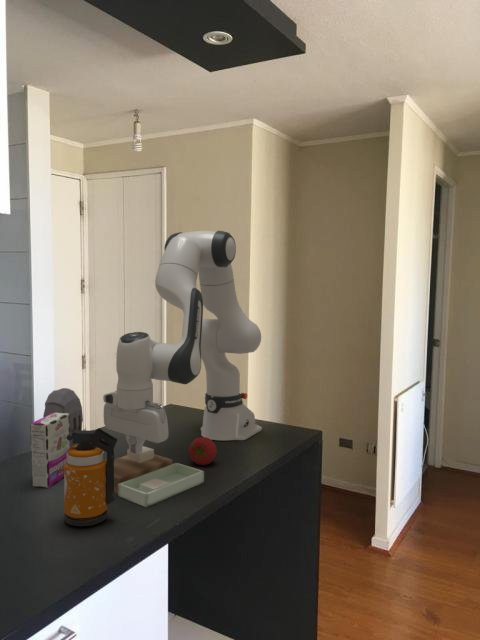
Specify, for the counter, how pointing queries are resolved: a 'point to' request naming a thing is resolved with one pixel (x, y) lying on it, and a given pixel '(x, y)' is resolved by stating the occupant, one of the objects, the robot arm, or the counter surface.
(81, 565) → the counter surface
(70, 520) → the canister
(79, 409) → the small grey backpack
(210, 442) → the tomato
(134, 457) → the tile
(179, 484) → the tray
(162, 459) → the board
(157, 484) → the tile
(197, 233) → the robot arm
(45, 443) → the candy bar box
